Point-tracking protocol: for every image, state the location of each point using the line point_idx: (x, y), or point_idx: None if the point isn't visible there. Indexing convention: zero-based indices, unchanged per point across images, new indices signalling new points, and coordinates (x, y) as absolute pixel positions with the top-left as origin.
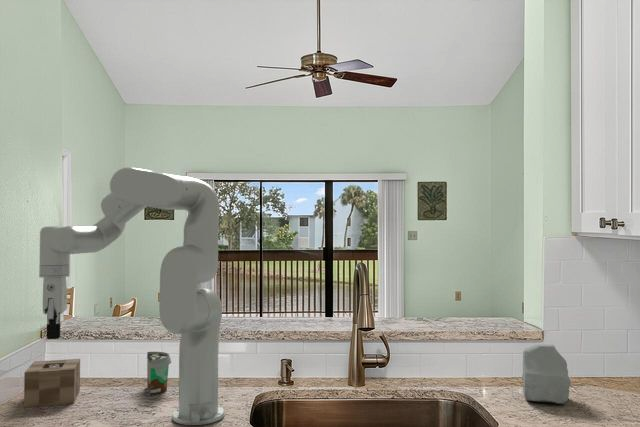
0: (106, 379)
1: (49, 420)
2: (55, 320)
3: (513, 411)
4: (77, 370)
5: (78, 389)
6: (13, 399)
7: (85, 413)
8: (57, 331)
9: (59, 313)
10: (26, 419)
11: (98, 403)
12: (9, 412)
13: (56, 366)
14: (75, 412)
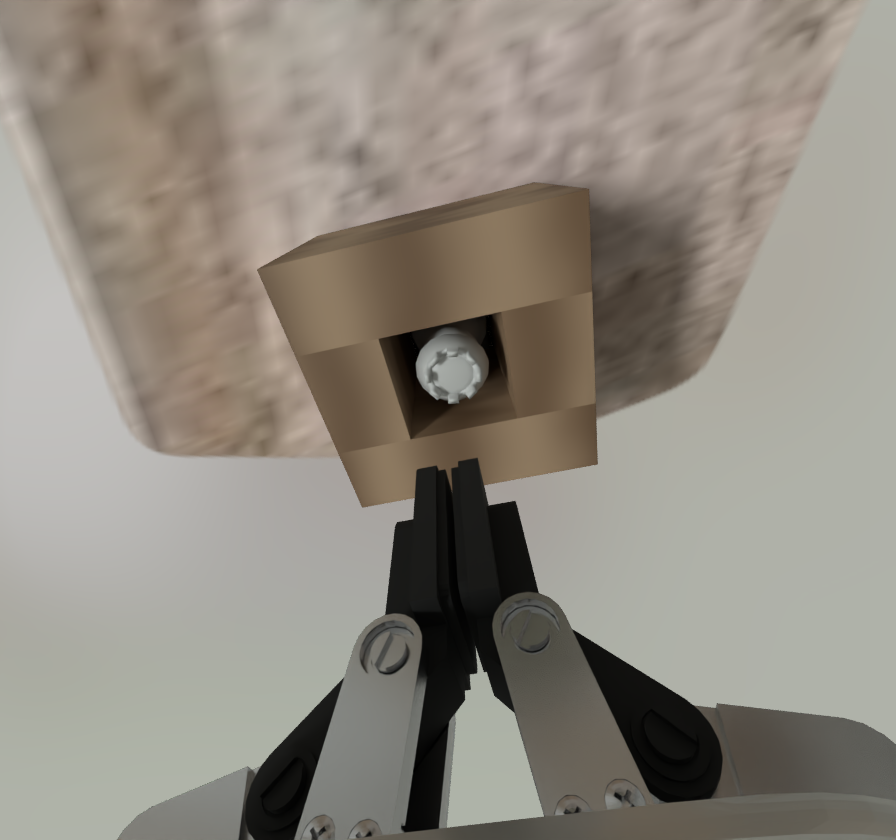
0: (78, 146)
1: (764, 207)
2: (618, 676)
3: None
4: (410, 226)
5: (368, 225)
6: None
7: (727, 37)
8: (489, 521)
9: (399, 810)
10: (709, 313)
11: (560, 13)
12: (601, 406)
13: (471, 356)
14: (689, 112)
